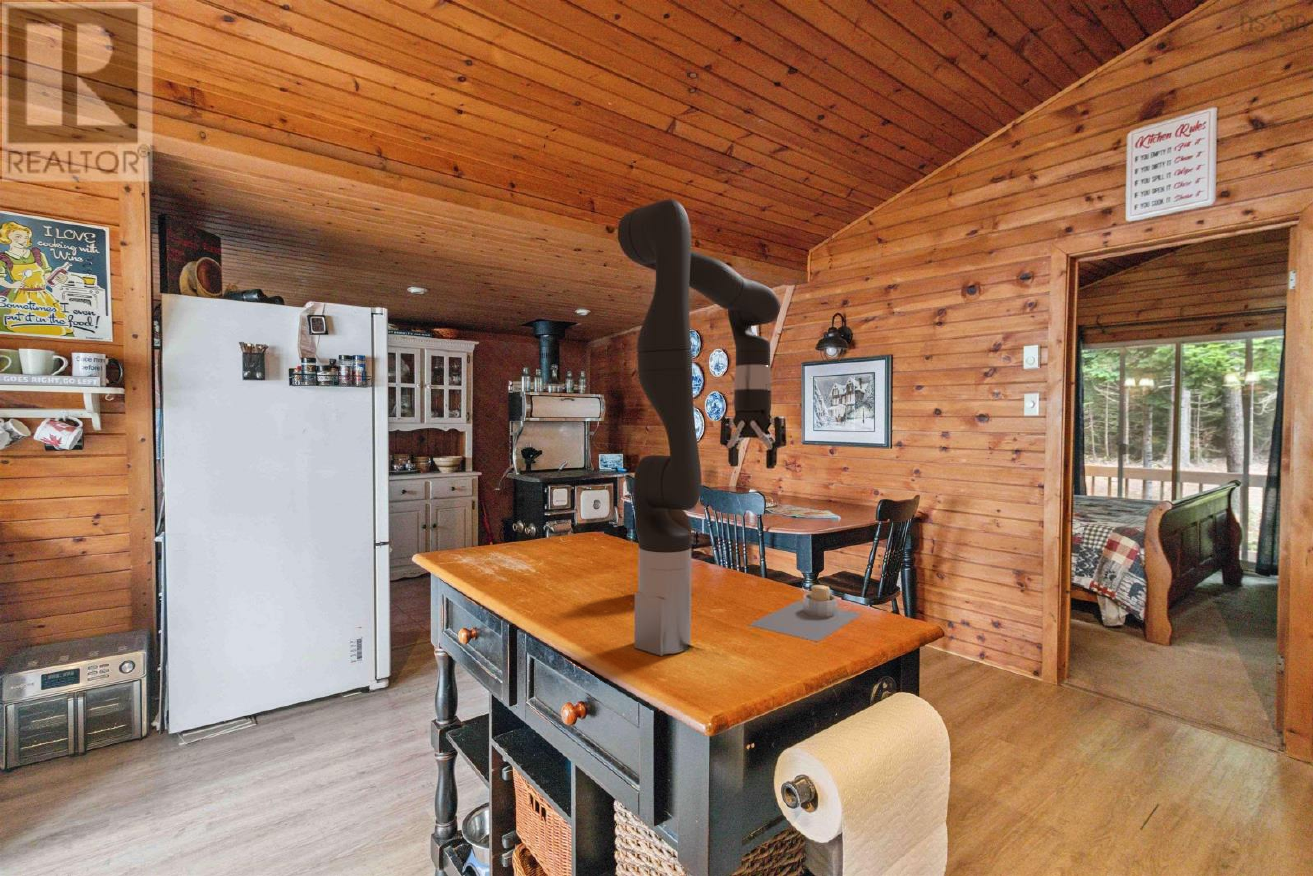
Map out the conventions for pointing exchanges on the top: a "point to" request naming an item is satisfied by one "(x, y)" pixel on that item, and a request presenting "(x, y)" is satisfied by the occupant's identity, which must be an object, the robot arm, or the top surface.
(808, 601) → the steel ring
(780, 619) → the fitting plate
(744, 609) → the top surface
